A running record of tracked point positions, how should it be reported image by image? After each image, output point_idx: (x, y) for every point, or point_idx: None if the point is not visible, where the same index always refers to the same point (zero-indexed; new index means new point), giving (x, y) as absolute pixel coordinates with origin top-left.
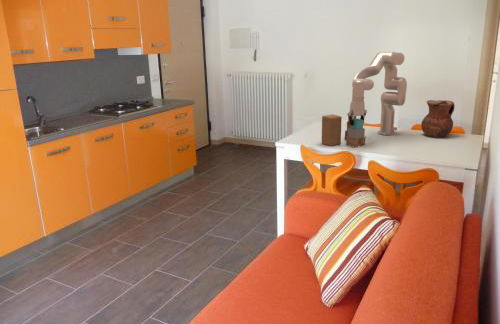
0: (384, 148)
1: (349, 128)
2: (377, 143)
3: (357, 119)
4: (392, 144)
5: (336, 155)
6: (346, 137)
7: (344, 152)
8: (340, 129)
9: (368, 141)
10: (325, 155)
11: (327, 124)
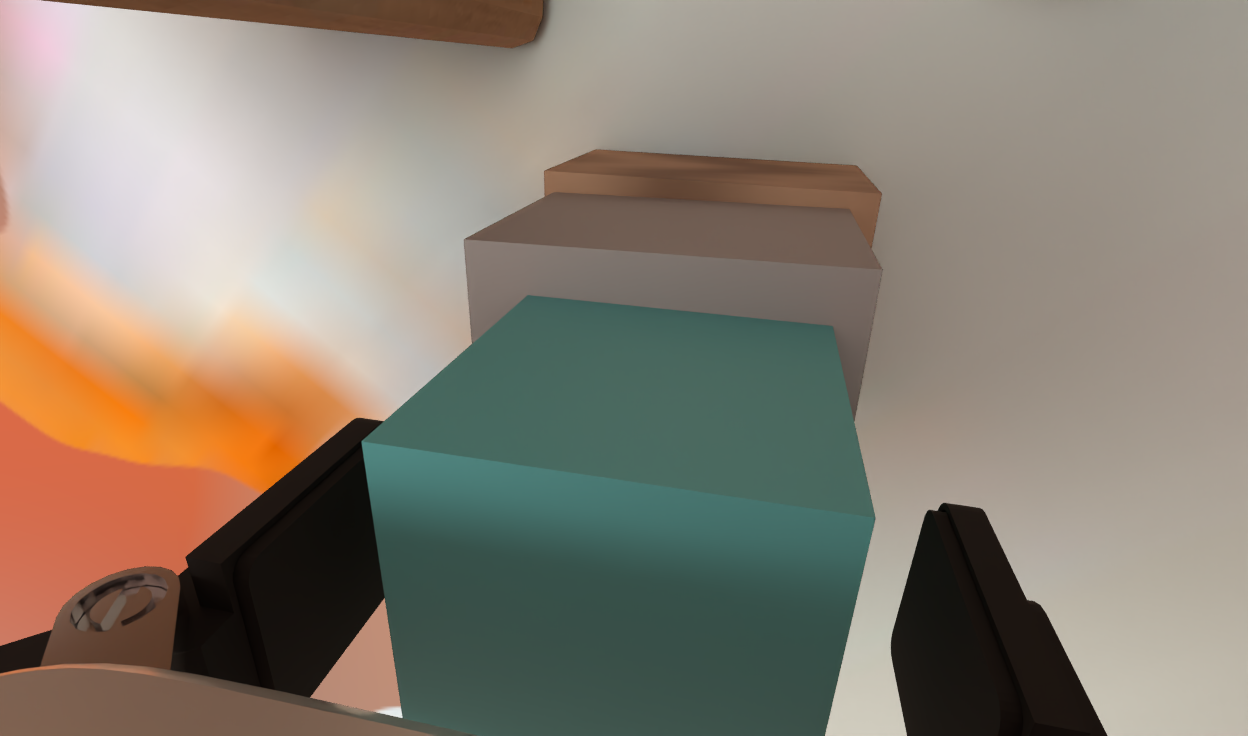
0: (858, 671)
1: (489, 301)
2: (1089, 479)
3: (656, 667)
4: (1179, 665)
5: (155, 432)
6: (549, 171)
7: (301, 421)
8: (330, 29)
9: (1144, 279)
10: (40, 343)
11: None
